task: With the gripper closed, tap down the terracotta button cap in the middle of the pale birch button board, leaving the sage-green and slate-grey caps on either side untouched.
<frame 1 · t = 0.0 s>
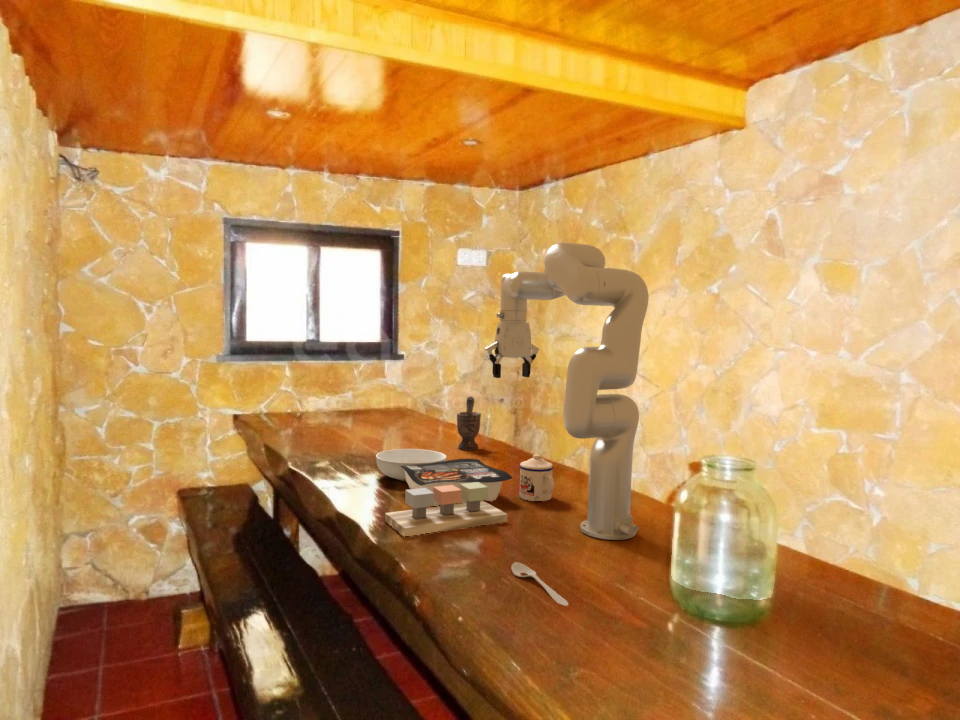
hand: (511, 377, 187), 31 cm above the table, tool pointing down, fingers open, 9 cm apart
button board: (446, 521, 154), on the table
teacup with lid: (538, 499, 176), on the table
serving bowl: (410, 478, 195), on the table
slate button: (419, 503, 150), point 5 cm above the table, slide at 0.0 cm
terracotta button: (447, 500, 154), point 5 cm above the table, slide at 0.0 cm
mortar and pestle: (469, 450, 238), on the table
spoon: (542, 591, 118), on the table
food packaging: (452, 497, 177), on the table
sage button: (473, 497, 157), point 5 cm above the table, slide at 0.0 cm
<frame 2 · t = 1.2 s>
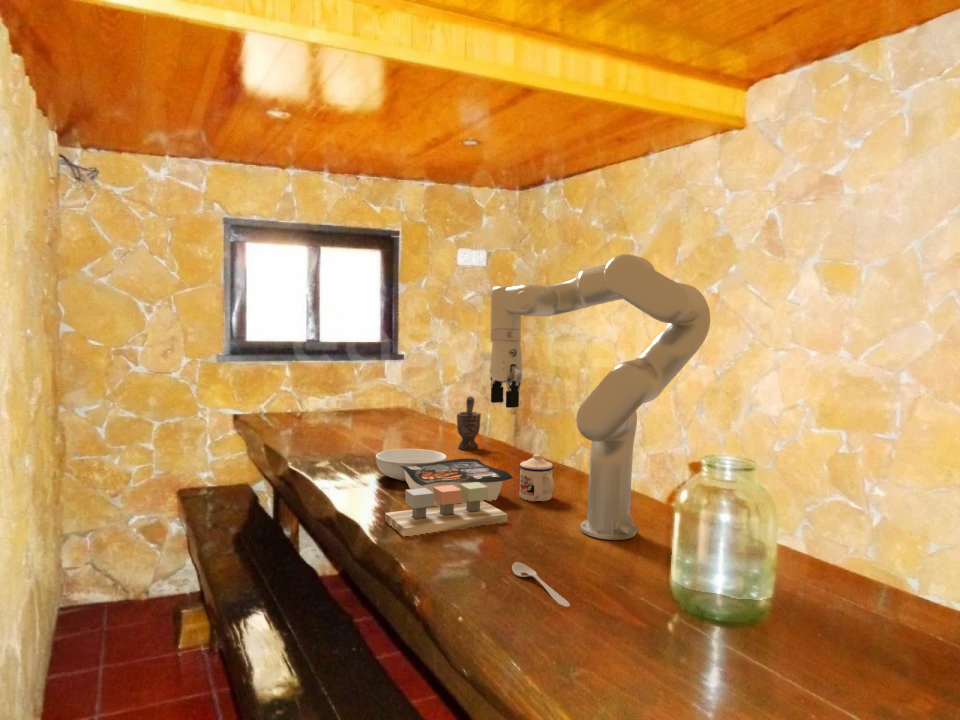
hand: (504, 404, 163), 27 cm above the table, tool pointing down, fingers open, 9 cm apart
nothing on the table moved.
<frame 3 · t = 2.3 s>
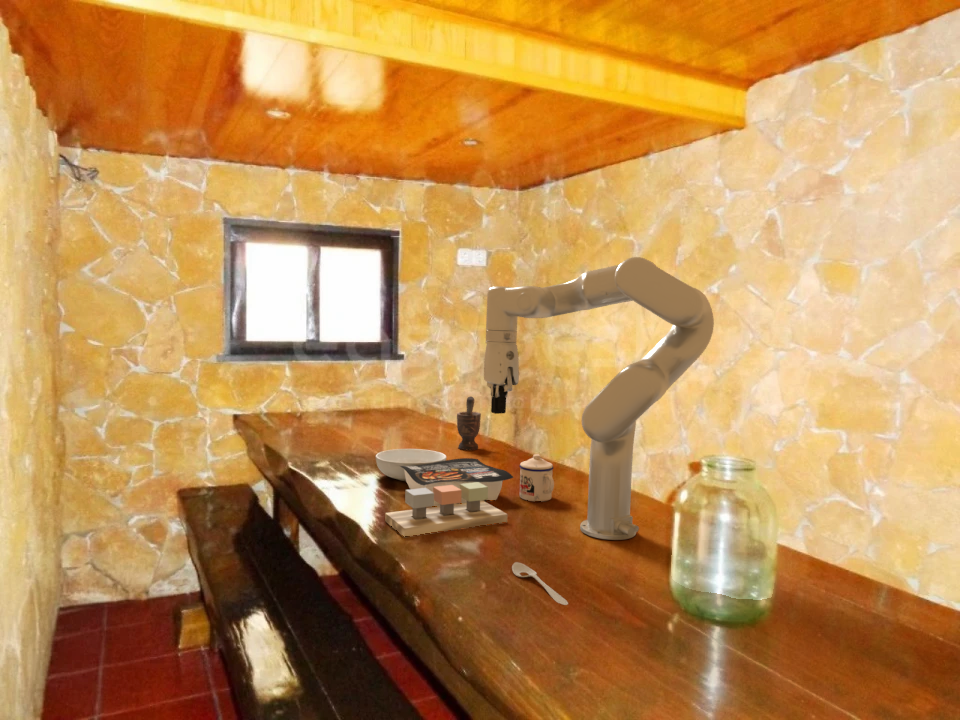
hand: (498, 412, 160), 25 cm above the table, tool pointing down, fingers closed
nothing on the table moved.
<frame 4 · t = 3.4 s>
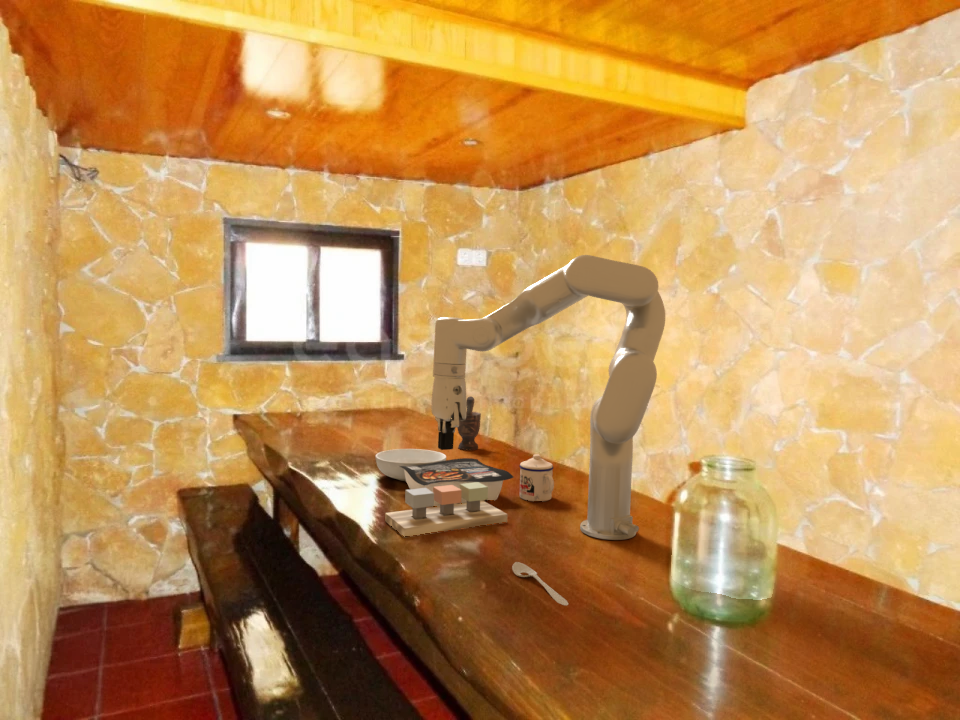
hand: (445, 448, 153), 17 cm above the table, tool pointing down, fingers closed
nothing on the table moved.
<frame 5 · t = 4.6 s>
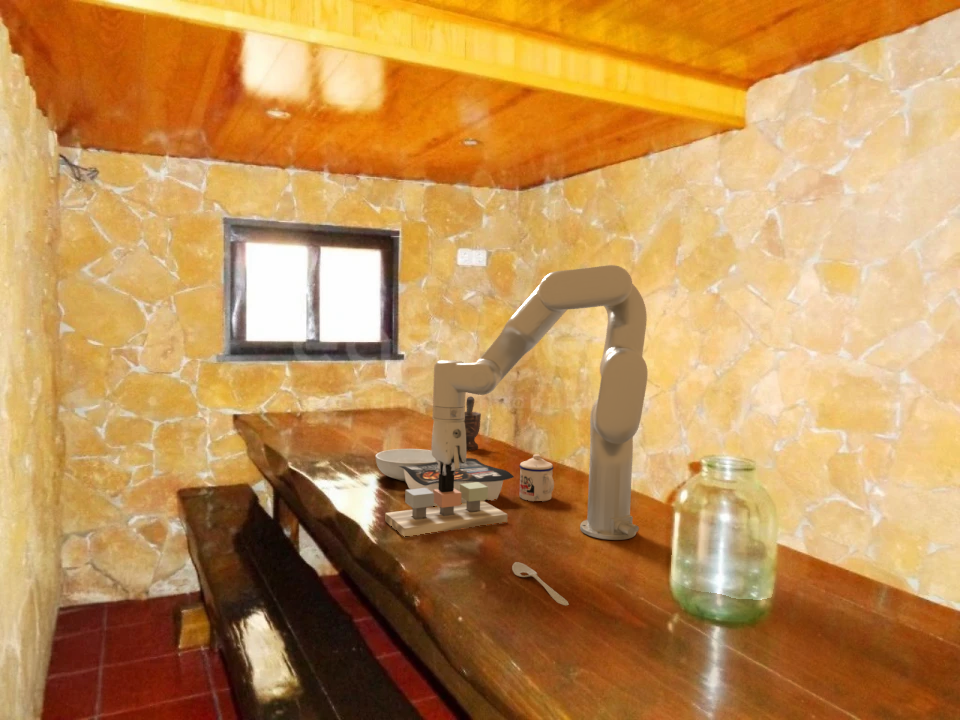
hand: (446, 490, 153), 7 cm above the table, tool pointing down, fingers closed
terracotta button: (446, 503, 154), point 4 cm above the table, slide at 0.6 cm, touching gripper
everything else where it was.
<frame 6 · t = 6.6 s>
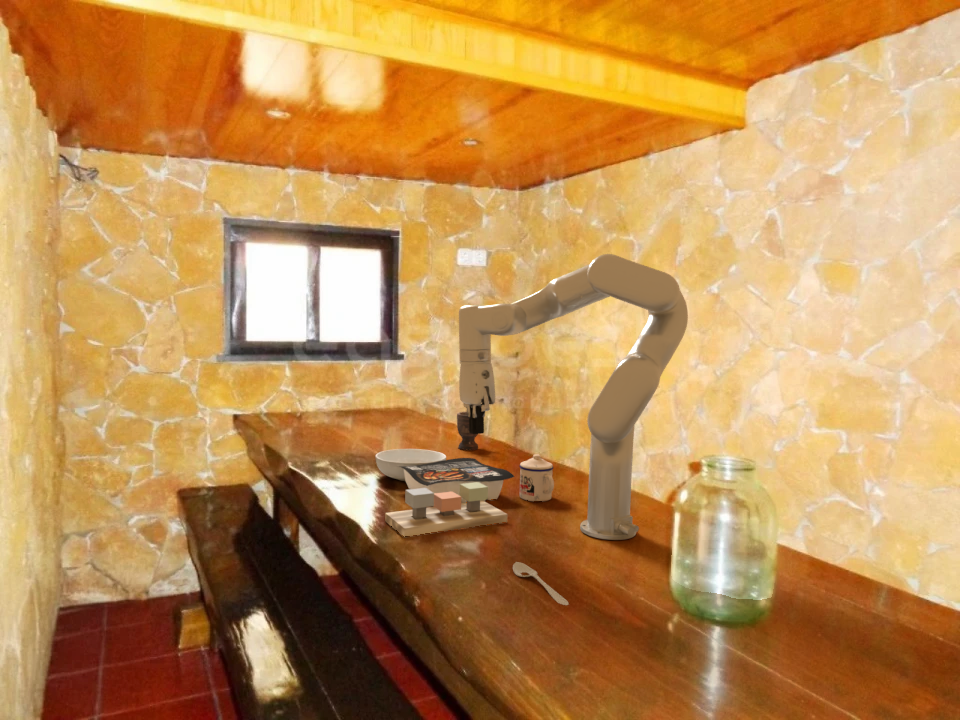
hand: (476, 433, 157), 20 cm above the table, tool pointing down, fingers closed
terracotta button: (446, 507, 154), point 3 cm above the table, slide at 1.6 cm
everything else where it was.
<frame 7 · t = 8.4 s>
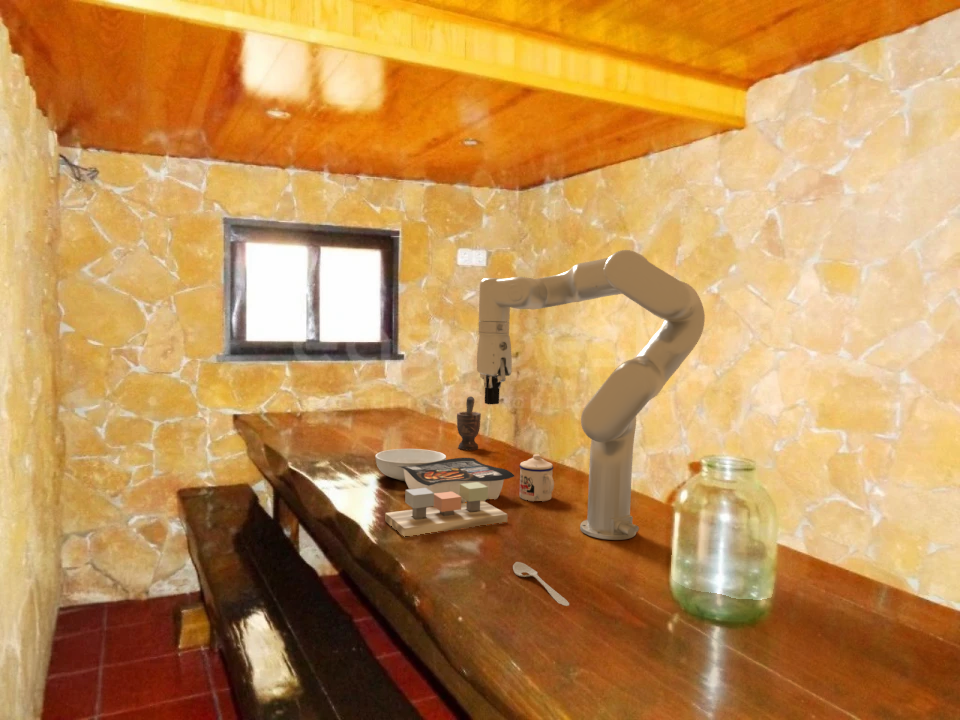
hand: (491, 403, 161), 27 cm above the table, tool pointing down, fingers closed
nothing on the table moved.
at the end: terracotta button slide at 1.6 cm; sage button slide at 0.0 cm; slate button slide at 0.0 cm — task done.
